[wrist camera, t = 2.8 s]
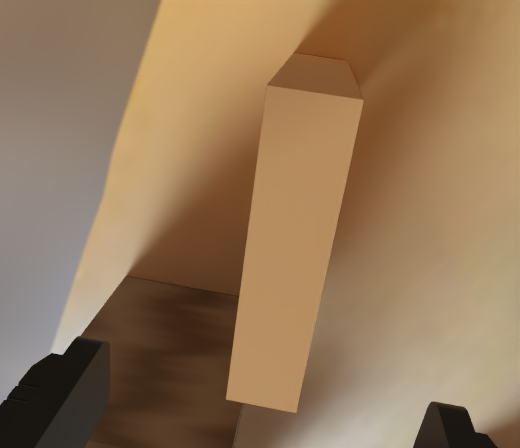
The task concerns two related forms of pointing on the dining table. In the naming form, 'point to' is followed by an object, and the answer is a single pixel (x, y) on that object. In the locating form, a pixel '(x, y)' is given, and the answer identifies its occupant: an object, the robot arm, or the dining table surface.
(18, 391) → the robot arm
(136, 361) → the shelf stand
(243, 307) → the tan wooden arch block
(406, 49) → the dining table surface
